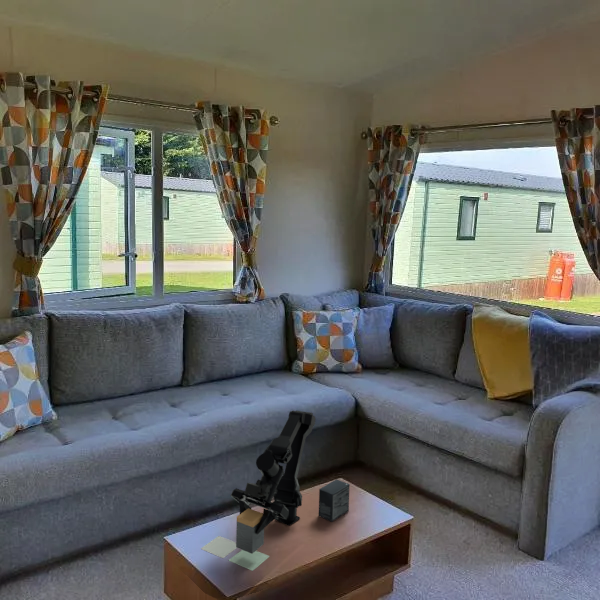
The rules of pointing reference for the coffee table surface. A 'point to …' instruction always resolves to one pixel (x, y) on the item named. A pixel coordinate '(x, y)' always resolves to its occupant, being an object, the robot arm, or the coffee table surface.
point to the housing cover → (250, 517)
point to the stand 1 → (220, 547)
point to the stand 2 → (249, 559)
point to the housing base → (248, 538)
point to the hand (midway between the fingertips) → (247, 530)
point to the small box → (334, 500)
